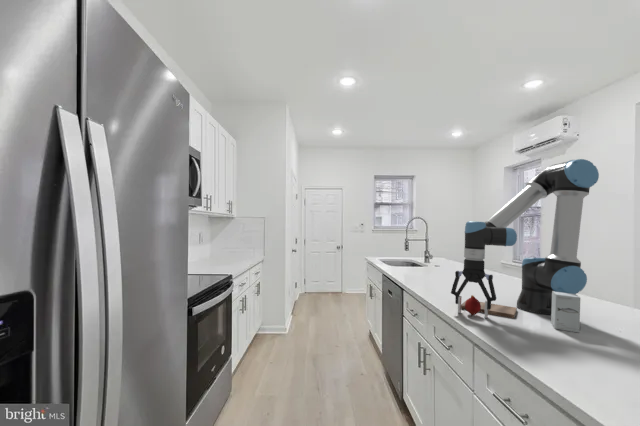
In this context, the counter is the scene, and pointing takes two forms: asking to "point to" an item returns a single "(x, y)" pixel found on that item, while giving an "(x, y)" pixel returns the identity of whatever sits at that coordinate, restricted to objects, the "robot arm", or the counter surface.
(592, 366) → the counter surface
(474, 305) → the onion
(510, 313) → the walnut board
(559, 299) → the supplement box
